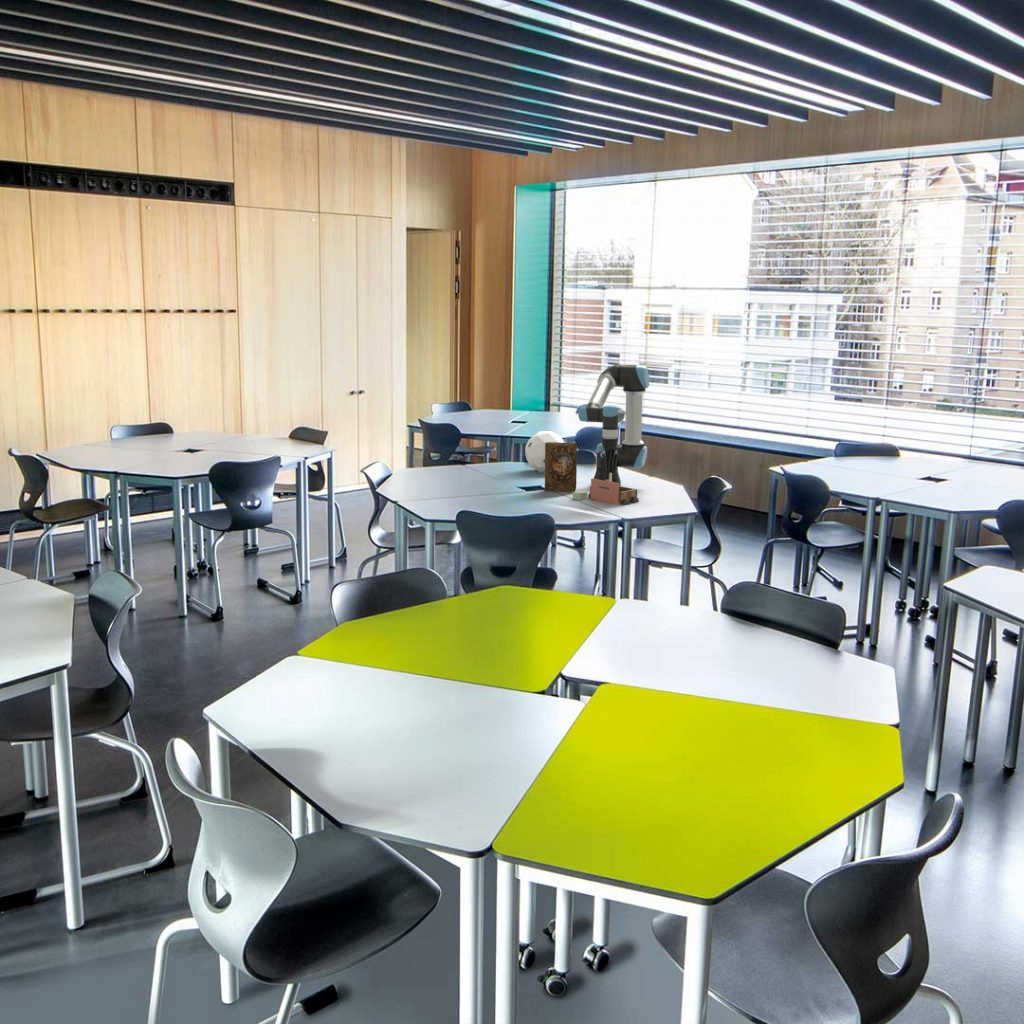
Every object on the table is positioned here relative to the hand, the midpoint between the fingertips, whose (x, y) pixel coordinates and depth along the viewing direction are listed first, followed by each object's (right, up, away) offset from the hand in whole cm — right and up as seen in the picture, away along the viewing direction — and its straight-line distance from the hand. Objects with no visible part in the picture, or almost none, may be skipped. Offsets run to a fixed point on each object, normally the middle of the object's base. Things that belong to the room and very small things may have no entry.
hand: (608, 485), depth 481 cm
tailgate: (-2, -8, 0) cm, 8 cm away
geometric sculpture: (-28, +10, +90) cm, 94 cm away
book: (-22, -2, +34) cm, 40 cm away
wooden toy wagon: (+3, -8, +5) cm, 10 cm away
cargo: (-13, -8, +7) cm, 17 cm away
